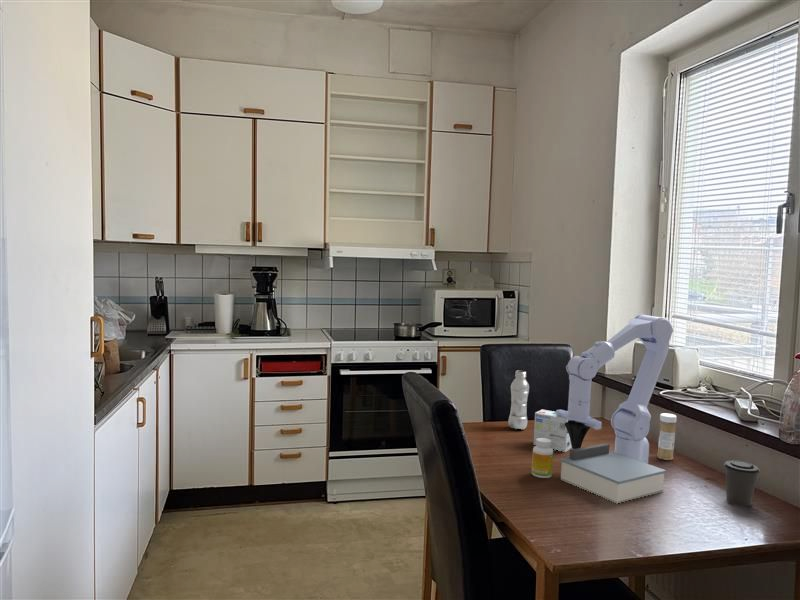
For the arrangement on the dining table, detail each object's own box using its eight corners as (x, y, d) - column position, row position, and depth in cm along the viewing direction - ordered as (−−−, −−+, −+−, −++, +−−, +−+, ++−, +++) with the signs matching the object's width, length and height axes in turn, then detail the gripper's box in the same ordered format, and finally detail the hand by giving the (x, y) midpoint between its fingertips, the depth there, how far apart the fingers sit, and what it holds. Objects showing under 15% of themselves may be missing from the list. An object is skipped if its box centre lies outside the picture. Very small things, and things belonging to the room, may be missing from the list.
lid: (606, 451, 174) (607, 441, 173) (665, 472, 158) (666, 461, 158) (560, 460, 164) (560, 449, 163) (618, 484, 148) (619, 472, 148)
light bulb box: (572, 448, 193) (574, 414, 192) (565, 453, 187) (568, 418, 187) (539, 441, 199) (541, 408, 198) (532, 446, 193) (534, 412, 192)
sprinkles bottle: (661, 454, 190) (664, 412, 189) (676, 459, 186) (679, 415, 185) (654, 457, 187) (657, 413, 186) (668, 461, 183) (672, 417, 182)
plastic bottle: (508, 430, 209) (511, 372, 208) (507, 425, 216) (511, 369, 214) (527, 432, 208) (531, 374, 207) (526, 427, 215) (530, 370, 213)
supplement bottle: (552, 479, 164) (554, 443, 163) (531, 477, 165) (533, 441, 164) (551, 472, 169) (553, 438, 168) (531, 470, 170) (533, 436, 169)
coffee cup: (760, 510, 149) (764, 470, 148) (722, 504, 151) (726, 465, 151) (753, 499, 156) (757, 460, 156) (718, 493, 159) (721, 455, 158)
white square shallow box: (605, 469, 173) (606, 452, 173) (662, 491, 158) (664, 472, 158) (560, 479, 164) (561, 461, 163) (617, 504, 149) (618, 484, 148)
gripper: (549, 395, 174) (546, 442, 175) (590, 407, 162) (586, 458, 163) (566, 393, 178) (563, 439, 179) (608, 405, 166) (604, 454, 166)
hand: (576, 448), depth 171 cm, fingers closed
